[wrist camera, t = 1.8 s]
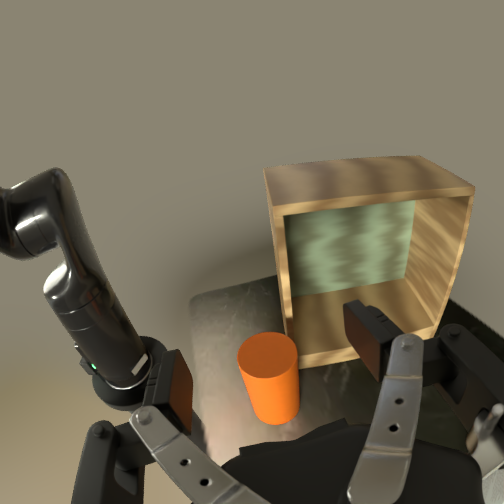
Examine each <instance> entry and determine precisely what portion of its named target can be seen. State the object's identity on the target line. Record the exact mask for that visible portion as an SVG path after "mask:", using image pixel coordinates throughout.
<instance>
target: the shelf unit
mask: <svg viewBox="0 0 504 504" xmlns="http://www.w3.org/2000/svg"><path fill="white" fill-rule="evenodd" d="M263 171H264V178H265V185H266V191H267V199H268V206H269V213H270V220H271V228H272V236H273V243H274V251H275V259H276V267H277V275H278V283H279V292H280V300H281V309H282V315H283V322H284V329H285V335H286V336H287V337H289V338H290V339H291V340H292V341H293V342H294V343H295V345H296V347H297V353H298V369H304V368H310V367H316V366H322V365H327V364H333V363H338V362H343V361H348V360H352V359H357V358H360V356H359V355H358V354H357V352H356V351H355V350H354V348H353V347H352V345H351V344H350V343H349V341H348V339H347V337H346V334H345V328H344V317H343V304H344V303H347V302H350V301H353V300H356V299H359V300H360V301H361V302H362V303H363V304H364V305H365V306H369V305H371V306H374V307H376V308H379V309H380V310H381V311H382V312H383V313H384V314H385V315H386V316H387V317H388V318H389V319H391V320H392V321H393V322H394V323H395V324H396V325H397V326H398V327H399V328H400V329H401V330H402V331H403V332H404V333H405V334H406V333H412V334H416V335H418V336H420V337H421V338H422V340H425V339H430V338H433V337H434V334H435V332H436V330H437V327H438V325H439V322H440V320H441V317H442V315H443V312H444V309H445V307H446V304H447V301H448V298H449V295H450V292H451V289H452V286H453V283H454V280H455V277H456V273H457V270H458V267H459V263H460V259H461V256H462V252H463V248H464V244H465V240H466V236H467V231H468V226H469V222H470V217H471V211H472V205H473V199H474V193H475V186H473V185H472V184H470V183H468V182H467V181H465V180H463V179H462V178H460V177H458V176H456V175H455V174H453V173H451V172H449V171H448V170H446V169H444V168H442V167H440V166H438V165H437V164H435V163H433V162H431V161H429V160H427V159H425V158H423V157H421V156H390V157H369V158H353V159H341V160H328V161H318V162H308V163H299V164H291V165H282V166H275V167H267V168H263Z"/></svg>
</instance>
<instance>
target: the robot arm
mask: <svg viewBox="0 0 504 504" xmlns="http://www.w3.org/2000/svg"><path fill="white" fill-rule="evenodd" d="M59 247H61V248H62V251H63V253H64V257H65V258H64V260H63V261H62V262H61V263H60V264H59V265H58V266H57V267H56V268H55V269H54V270H53V271H52V272H51V274H50V275H49V276H48V278H47V280H46V282H45V284H44V289H43V291H44V295H45V298H46V300H47V301H48V303H49V305H50V306H51V308H52V309H53V311H54V312H55V314H56V315H57V317H58V318H59V320H60V321H61V323H62V324H63V326H64V327H65V329H66V330H67V331H68V333H69V334H70V335H71V337H72V338H73V340H74V341H75V343H74V346H75V348H76V349H77V351H78V352H79V353H80V354H81V356H82V358H81V361H80V363H79V364H80V365H81V366H82V367H83V368H84V370H85V371H86V372H87V373H88V374H89V375H96V376H97V375H98V376H99V377H100V379H101V380H102V381H103V382H107V383H108V384H109V385H110V386H111V387H112V388H114V389H116V390H119V391H128V390H132V389H135V388H137V387H139V386H140V385H142V384H143V383H144V382H145V381H146V380H147V379H148V378H149V380H148V383H147V387H146V391H145V395H144V400H143V404H142V407H140V408H138V409H137V410H135V411H134V412H133V414H132V415H131V417H130V421H129V422H127V423H124V424H121V425H118V426H115V427H114V426H113V425H112V424H111V423H110V422H109V421H105V420H103V421H98V422H96V423H94V424H93V425H92V426H91V427H90V428H89V430H88V432H87V436H86V440H85V443H84V447H83V451H82V455H81V459H80V463H79V467H78V472H77V476H76V481H75V485H74V490H73V496H72V501H71V504H143V496H144V475H145V474H144V473H145V465H148V464H151V463H154V462H157V463H158V464H159V465H160V466H161V468H162V469H163V470H164V471H165V472H166V474H167V475H168V476H169V477H170V478H171V479H172V480H173V482H174V483H175V484H176V485H177V486H178V487H179V488H180V489H181V490H182V491H183V492H184V494H185V495H186V496H187V497H188V498H189V499H190V500H191V501H192V503H191V504H485V501H484V497H483V490H482V481H483V480H484V479H486V478H487V477H488V476H490V475H491V474H492V473H493V472H495V471H496V470H497V469H499V470H500V469H504V363H503V362H502V361H501V360H500V359H499V358H498V357H497V356H496V355H495V354H494V353H493V352H492V351H491V350H490V349H488V348H487V347H486V346H485V345H484V344H483V343H482V342H481V341H480V340H479V339H477V338H476V337H475V336H474V335H473V334H472V333H471V332H470V331H468V330H467V329H466V328H465V327H464V326H462V325H459V324H448V325H445V326H444V327H442V328H441V330H440V333H439V337H434V338H430V339H425V340H422V338H421V337H420V336H418V335H416V334H412V333H406V334H405V333H404V332H403V331H402V330H401V329H400V328H399V327H398V326H397V325H396V324H395V323H394V322H393V321H392V320H391V319H389V318H388V317H387V316H386V315H385V314H384V313H383V312H382V311H381V310H380V309H379V308H376V307H374V306H371V305H369V306H365V305H364V304H363V303H362V302H361V301H360V300H359V299H356V300H353V301H350V302H347V303H344V304H343V317H344V328H345V334H346V337H347V339H348V341H349V343H350V344H351V345H352V347H353V348H354V350H355V351H356V352H357V354H358V355H359V356H360V358H361V359H362V361H363V362H364V363H365V365H366V366H367V368H368V369H369V370H370V372H371V373H372V375H373V376H374V377H375V379H376V380H377V382H378V383H380V382H382V381H383V383H382V387H381V391H380V395H379V399H378V403H377V407H376V410H375V414H374V417H373V421H372V424H365V423H354V424H347V422H346V420H345V418H343V419H340V420H337V421H335V422H332V423H329V424H326V425H323V426H320V427H318V428H316V429H315V430H313V431H311V432H309V433H307V434H306V435H304V436H302V437H300V438H298V439H296V440H293V441H281V442H264V443H260V444H255V445H250V446H246V447H240V448H239V451H240V455H239V456H236V457H234V458H232V459H231V460H229V461H228V462H226V463H225V464H224V465H222V466H221V467H220V466H219V465H217V464H216V463H215V462H214V461H213V460H211V459H210V458H209V457H208V456H207V455H206V454H205V453H204V452H202V451H201V450H200V449H199V448H198V447H197V446H196V445H195V444H194V443H193V442H192V441H191V440H190V439H188V438H187V437H186V436H190V435H191V421H192V397H193V396H192V395H193V379H192V375H191V373H190V370H189V368H188V366H187V364H186V362H185V360H184V358H183V356H182V354H181V352H180V350H178V349H176V350H171V351H166V352H163V354H162V358H161V363H157V364H155V366H154V367H153V358H152V356H151V354H150V353H149V351H148V350H147V349H146V347H145V346H144V344H143V342H142V341H141V339H140V337H139V336H138V334H137V332H136V331H135V329H134V327H133V325H132V324H131V322H130V320H129V318H128V317H127V315H126V313H125V311H124V309H123V308H122V306H121V304H120V302H119V300H118V298H117V297H116V295H115V293H114V291H113V289H112V287H111V285H110V283H109V281H108V279H107V277H106V275H105V273H104V271H103V268H102V266H101V264H100V261H99V259H98V256H97V254H96V251H95V249H94V246H93V244H92V241H91V239H90V236H89V234H88V231H87V228H86V225H85V223H84V220H83V216H82V214H81V210H80V207H79V203H78V200H77V197H76V194H75V191H74V188H73V186H72V183H71V182H70V179H69V178H68V176H67V174H66V173H65V172H64V171H63V170H62V169H60V168H57V167H55V168H51V169H48V170H46V171H44V172H42V173H40V174H38V175H36V176H34V177H32V178H30V179H28V180H26V181H24V182H22V183H20V184H18V185H17V186H15V187H13V188H9V189H5V188H2V187H0V253H2V254H4V255H6V256H8V257H11V258H13V259H16V260H21V261H25V260H30V259H34V258H36V257H39V256H41V255H43V254H45V253H48V252H50V251H52V250H54V249H57V248H59ZM432 384H433V385H434V386H435V388H436V389H437V390H438V392H439V393H440V394H441V396H442V397H443V398H444V400H445V401H446V402H447V404H448V405H449V406H450V408H451V409H452V410H453V412H454V413H455V414H456V416H457V417H458V419H459V420H460V421H461V423H462V424H463V426H464V427H465V428H466V430H467V431H468V433H467V435H466V440H465V441H466V446H467V448H468V452H469V454H468V453H466V452H463V451H459V450H455V449H451V448H447V447H443V446H439V445H436V444H432V443H429V442H425V441H422V440H418V439H415V433H416V428H417V422H418V415H419V408H420V401H421V392H422V387H424V386H428V385H432Z"/></svg>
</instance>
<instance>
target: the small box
mask: <svg viewBox="0 0 504 504" xmlns="http://www.w3.org/2000/svg"><path fill="white" fill-rule="evenodd" d="M482 490H483V497H484V501H485V504H504V469H500V470H499V469H497V470H496V471H495V472H493V473H492V474H491V475H490V476H488V477H487V478H486V479H484V480H483V481H482Z"/></svg>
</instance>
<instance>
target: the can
mask: <svg viewBox="0 0 504 504" xmlns="http://www.w3.org/2000/svg"><path fill="white" fill-rule="evenodd" d="M237 361H238V365H239V368H240V371H241V374H242V377H243V380H244V383H245V386H246V388H247V391H248V394H249V397H250V400H251V403H252V405H253V408H254V411H255V413H256V415H257V417H258V418H259V419H260V420H262V421H263V422H265V423H268V424H273V425H278V424H283V423H286V422H288V421H290V420H291V419H293V418H294V417H295V416H296V414H297V413H298V411H299V408H300V393H299V371H298V353H297V347H296V345H295V343H294V342H293V341H292V340H291V339H290V338H289V337H287V336H286V335H284V334H281V333H277V332H263V333H259V334H256V335H254V336H252V337H250V338H248V339H247V340H246V341H245V342H244V343H243V344H242V345H241V347H240V348H239V351H238V354H237Z"/></svg>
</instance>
